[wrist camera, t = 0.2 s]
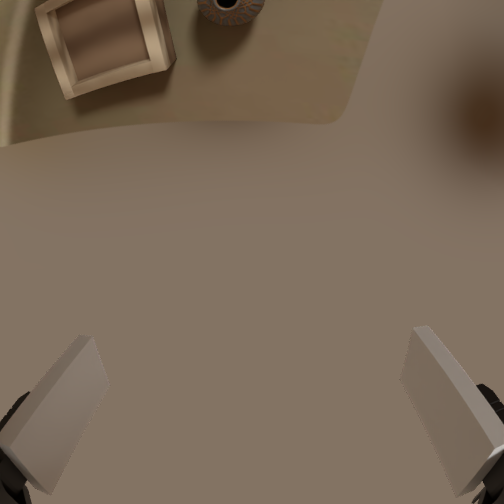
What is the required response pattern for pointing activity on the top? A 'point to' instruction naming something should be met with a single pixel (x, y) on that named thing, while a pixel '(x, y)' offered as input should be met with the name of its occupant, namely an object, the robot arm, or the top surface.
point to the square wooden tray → (104, 41)
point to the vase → (230, 10)
